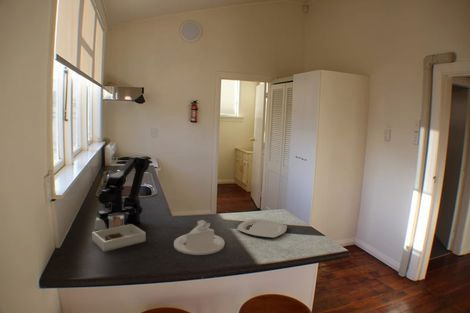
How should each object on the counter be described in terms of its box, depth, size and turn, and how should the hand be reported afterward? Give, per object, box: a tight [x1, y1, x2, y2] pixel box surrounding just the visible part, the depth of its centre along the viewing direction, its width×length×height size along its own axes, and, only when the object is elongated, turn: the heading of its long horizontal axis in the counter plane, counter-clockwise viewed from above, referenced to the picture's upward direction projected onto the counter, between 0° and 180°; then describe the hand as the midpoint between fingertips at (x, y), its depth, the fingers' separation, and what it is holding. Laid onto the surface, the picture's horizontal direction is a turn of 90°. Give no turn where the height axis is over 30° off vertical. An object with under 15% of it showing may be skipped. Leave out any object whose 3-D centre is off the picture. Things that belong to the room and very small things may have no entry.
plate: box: [236, 218, 288, 239], centre depth 171 cm, size 27×27×2 cm
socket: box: [105, 233, 125, 241], centre depth 146 cm, size 7×7×2 cm
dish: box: [173, 219, 226, 256], centre depth 148 cm, size 25×25×11 cm
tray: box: [91, 223, 147, 253], centre depth 148 cm, size 20×16×4 cm
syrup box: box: [94, 214, 125, 231], centre depth 165 cm, size 6×6×14 cm
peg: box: [113, 215, 121, 228], centre depth 159 cm, size 4×4×8 cm
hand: (116, 228), depth 160 cm, fingers open, 9 cm apart
